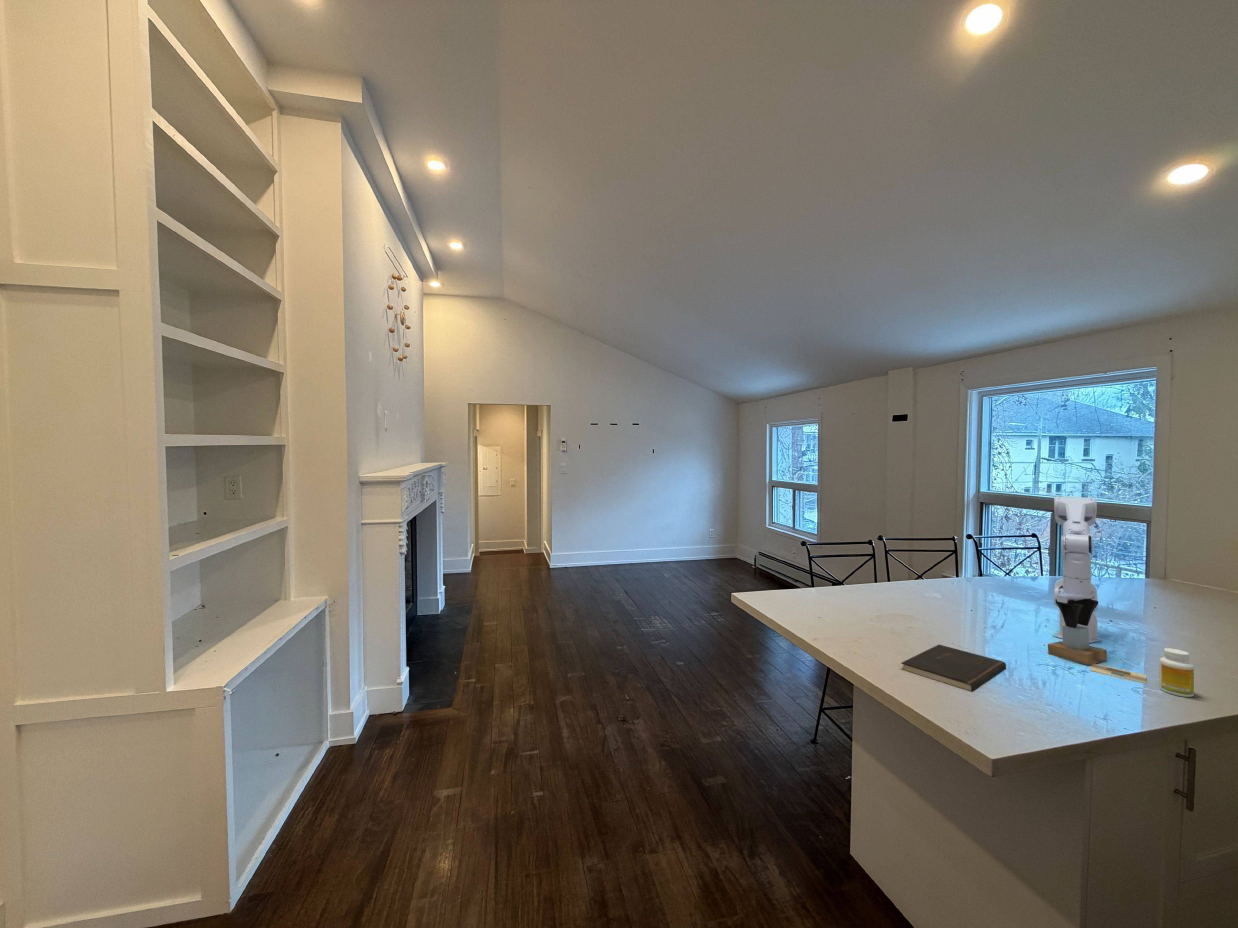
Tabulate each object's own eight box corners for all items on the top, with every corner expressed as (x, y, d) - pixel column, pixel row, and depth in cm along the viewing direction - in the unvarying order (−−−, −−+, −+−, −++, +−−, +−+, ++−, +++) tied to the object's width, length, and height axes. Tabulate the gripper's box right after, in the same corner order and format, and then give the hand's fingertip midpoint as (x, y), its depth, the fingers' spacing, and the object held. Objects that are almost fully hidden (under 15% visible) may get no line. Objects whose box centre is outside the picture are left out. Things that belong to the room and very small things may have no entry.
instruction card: (1092, 663, 133) (1092, 662, 133) (1146, 675, 125) (1146, 674, 125) (1089, 670, 128) (1089, 669, 128) (1145, 683, 121) (1145, 682, 121)
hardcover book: (901, 671, 129) (901, 662, 129) (938, 652, 142) (938, 644, 142) (972, 694, 116) (972, 684, 116) (1006, 670, 129) (1006, 661, 129)
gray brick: (1072, 643, 140) (1071, 624, 140) (1089, 648, 136) (1088, 627, 136) (1062, 645, 138) (1062, 625, 139) (1080, 649, 135) (1079, 629, 135)
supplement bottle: (1198, 699, 112) (1198, 657, 113) (1164, 693, 115) (1164, 652, 115) (1188, 690, 117) (1187, 649, 117) (1155, 685, 120) (1155, 645, 120)
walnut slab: (1067, 650, 143) (1066, 639, 143) (1107, 660, 135) (1106, 649, 135) (1048, 654, 140) (1047, 643, 140) (1087, 665, 131) (1087, 653, 131)
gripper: (1074, 572, 144) (1074, 618, 144) (1044, 576, 138) (1044, 624, 138) (1105, 577, 137) (1105, 626, 137) (1074, 581, 132) (1075, 632, 132)
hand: (1076, 625), depth 137 cm, fingers open, 5 cm apart
